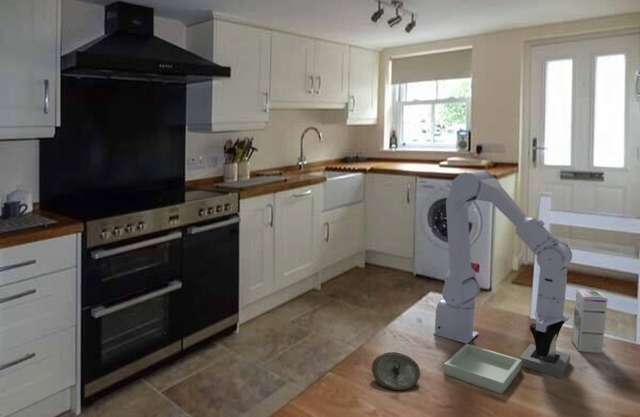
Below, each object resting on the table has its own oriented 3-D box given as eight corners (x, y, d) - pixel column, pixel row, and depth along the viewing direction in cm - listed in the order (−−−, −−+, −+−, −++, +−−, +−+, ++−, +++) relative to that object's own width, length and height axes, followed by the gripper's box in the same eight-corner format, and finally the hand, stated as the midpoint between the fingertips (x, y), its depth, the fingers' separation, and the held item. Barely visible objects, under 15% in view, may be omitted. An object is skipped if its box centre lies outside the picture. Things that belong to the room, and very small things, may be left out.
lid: (415, 368, 111) (416, 348, 110) (423, 392, 101) (424, 370, 100) (369, 367, 111) (370, 347, 110) (373, 391, 101) (374, 369, 100)
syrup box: (603, 353, 119) (609, 297, 116) (577, 351, 120) (583, 295, 117) (594, 343, 124) (601, 290, 122) (570, 341, 125) (575, 288, 123)
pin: (533, 364, 113) (536, 332, 111) (537, 358, 116) (540, 327, 115) (551, 370, 110) (554, 337, 109) (555, 363, 114) (558, 331, 112)
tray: (443, 373, 108) (444, 363, 108) (466, 353, 118) (466, 343, 118) (502, 394, 100) (503, 383, 100) (520, 369, 110) (521, 359, 110)
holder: (518, 365, 112) (519, 357, 112) (529, 351, 119) (530, 343, 119) (560, 377, 107) (561, 369, 107) (569, 362, 114) (570, 354, 114)
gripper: (562, 308, 102) (556, 367, 105) (577, 290, 113) (571, 344, 116) (528, 300, 107) (523, 357, 109) (545, 284, 118) (540, 336, 120)
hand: (545, 350), depth 113 cm, fingers open, 6 cm apart
